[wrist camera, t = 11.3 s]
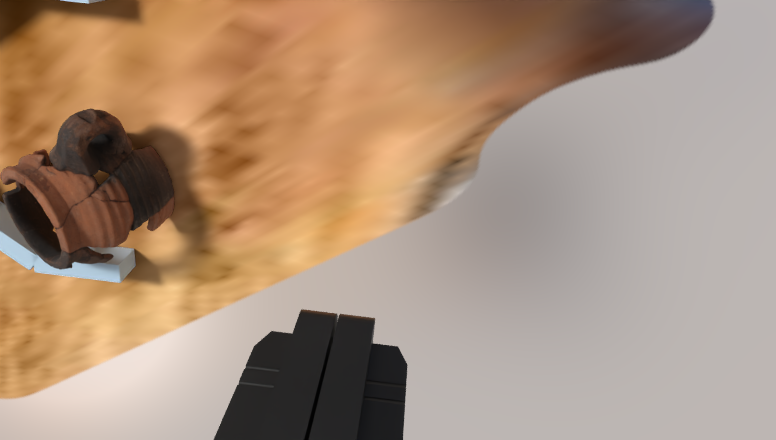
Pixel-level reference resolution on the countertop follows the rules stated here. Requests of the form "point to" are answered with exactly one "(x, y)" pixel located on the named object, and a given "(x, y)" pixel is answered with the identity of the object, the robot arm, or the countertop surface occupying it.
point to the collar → (11, 242)
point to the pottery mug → (87, 191)
